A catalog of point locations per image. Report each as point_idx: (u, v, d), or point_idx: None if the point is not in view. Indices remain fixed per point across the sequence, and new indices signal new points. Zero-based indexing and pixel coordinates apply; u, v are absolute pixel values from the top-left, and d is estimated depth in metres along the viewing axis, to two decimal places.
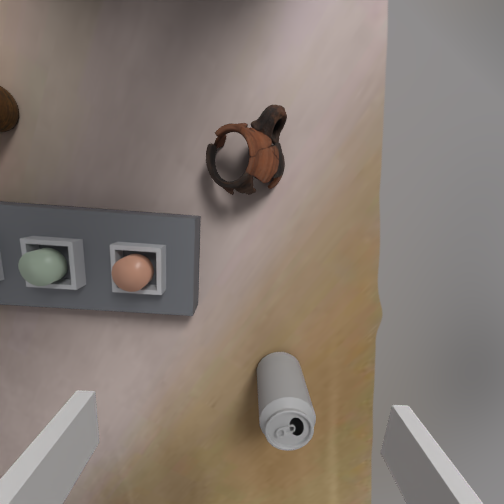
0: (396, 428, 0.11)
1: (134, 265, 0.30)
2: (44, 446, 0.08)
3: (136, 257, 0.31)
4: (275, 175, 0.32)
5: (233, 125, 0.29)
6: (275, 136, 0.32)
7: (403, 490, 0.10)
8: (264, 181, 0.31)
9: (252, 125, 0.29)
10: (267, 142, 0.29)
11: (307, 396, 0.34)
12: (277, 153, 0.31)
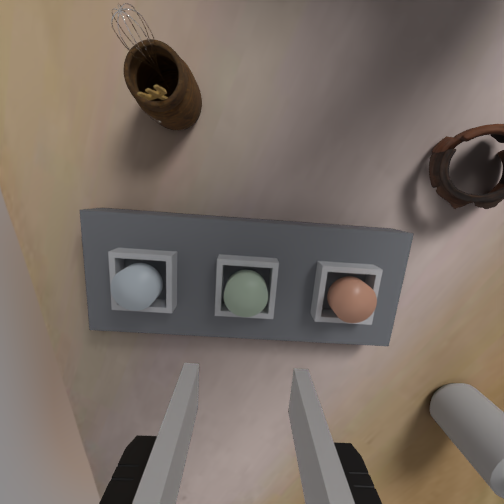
0: (294, 387, 0.12)
1: (363, 292, 0.25)
2: (182, 401, 0.10)
3: (361, 282, 0.25)
4: None
5: (501, 126, 0.23)
6: None
7: (294, 437, 0.12)
8: None
9: None
10: None
11: None
12: None
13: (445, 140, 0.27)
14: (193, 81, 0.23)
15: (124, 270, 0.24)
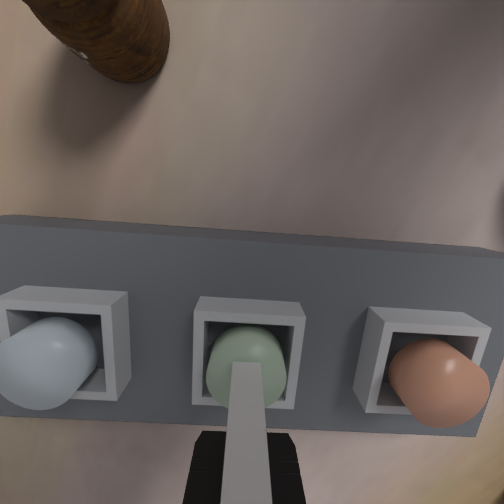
0: None
1: (465, 377, 0.13)
2: (240, 398, 0.11)
3: (460, 354, 0.14)
4: None
5: None
6: None
7: None
8: None
9: None
10: None
11: None
12: None
13: None
14: None
15: (11, 340, 0.12)
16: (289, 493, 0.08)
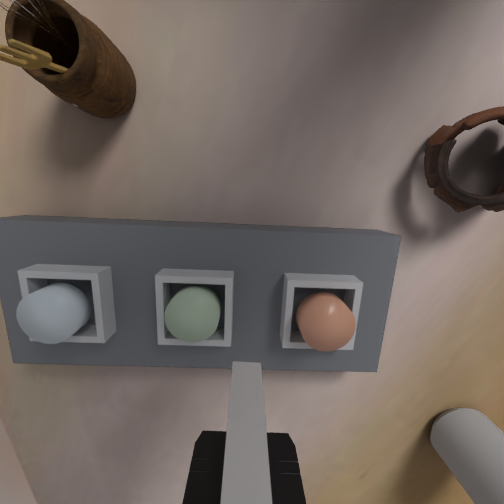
0: None
1: (337, 313, 0.20)
2: (240, 398, 0.11)
3: (336, 299, 0.20)
4: None
5: None
6: None
7: None
8: None
9: None
10: None
11: None
12: None
13: (442, 130, 0.22)
14: (110, 51, 0.18)
15: (31, 294, 0.19)
16: (289, 492, 0.08)
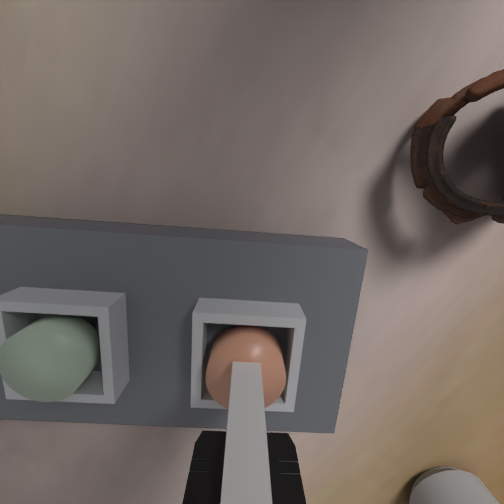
0: None
1: (258, 360, 0.13)
2: (240, 398, 0.11)
3: (259, 339, 0.14)
4: None
5: None
6: None
7: None
8: None
9: None
10: None
11: None
12: None
13: (437, 104, 0.15)
14: None
15: None
16: (289, 493, 0.08)
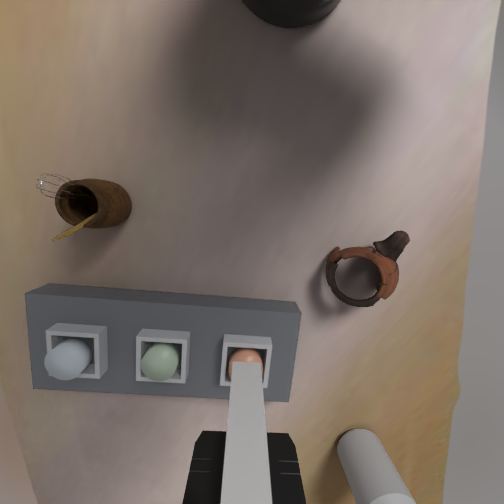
0: None
1: None
2: (240, 398, 0.11)
3: (251, 353, 0.32)
4: None
5: (364, 253, 0.31)
6: None
7: None
8: (386, 298, 0.33)
9: (379, 251, 0.31)
10: (394, 266, 0.31)
11: (406, 488, 0.34)
12: None
13: (335, 251, 0.35)
14: (115, 201, 0.30)
15: (55, 349, 0.29)
16: (289, 493, 0.08)
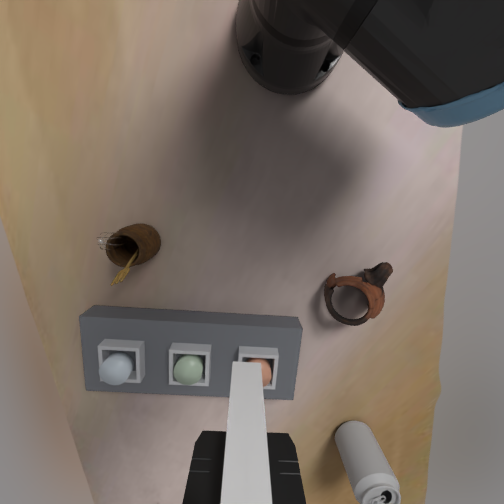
0: None
1: (262, 370, 0.39)
2: (240, 398, 0.11)
3: (262, 362, 0.39)
4: None
5: (354, 283, 0.37)
6: None
7: None
8: (374, 317, 0.39)
9: (367, 280, 0.38)
10: (379, 293, 0.38)
11: (390, 469, 0.42)
12: (383, 296, 0.39)
13: (331, 278, 0.41)
14: (150, 243, 0.37)
15: (107, 361, 0.37)
16: (289, 493, 0.08)
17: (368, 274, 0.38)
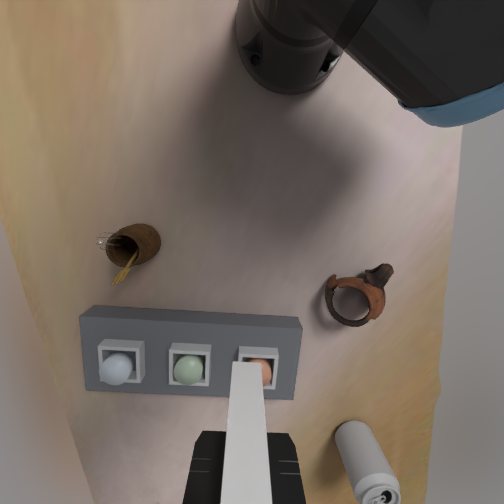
0: None
1: (262, 370, 0.39)
2: (240, 398, 0.11)
3: (262, 362, 0.39)
4: None
5: (355, 284, 0.37)
6: None
7: None
8: (375, 318, 0.40)
9: (368, 281, 0.38)
10: (380, 294, 0.38)
11: (390, 469, 0.42)
12: (384, 297, 0.39)
13: (332, 279, 0.41)
14: (150, 243, 0.37)
15: (107, 361, 0.37)
16: (289, 493, 0.08)
17: (369, 275, 0.39)
